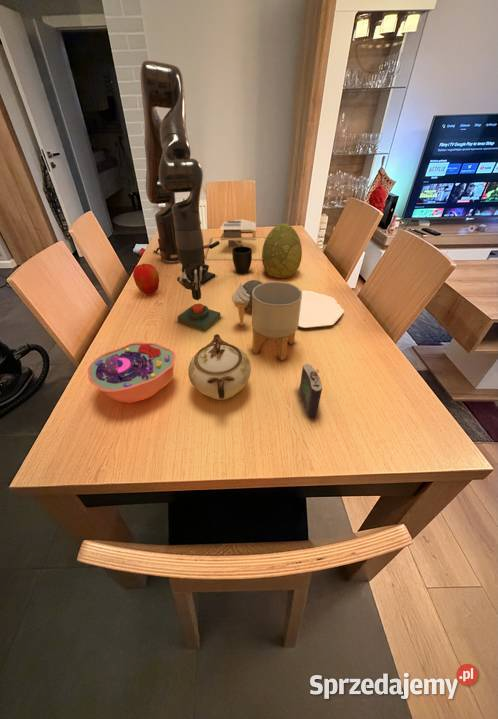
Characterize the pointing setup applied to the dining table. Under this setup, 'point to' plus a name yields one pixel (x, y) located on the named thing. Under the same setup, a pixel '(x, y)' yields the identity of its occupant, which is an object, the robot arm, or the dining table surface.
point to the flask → (310, 390)
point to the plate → (318, 310)
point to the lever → (211, 245)
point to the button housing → (199, 318)
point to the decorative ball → (250, 290)
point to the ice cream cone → (241, 301)
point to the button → (198, 308)
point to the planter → (275, 314)
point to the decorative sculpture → (282, 252)
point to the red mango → (146, 278)
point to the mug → (242, 259)
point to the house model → (236, 240)
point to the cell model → (133, 371)
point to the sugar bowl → (219, 369)
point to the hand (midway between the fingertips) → (197, 299)
